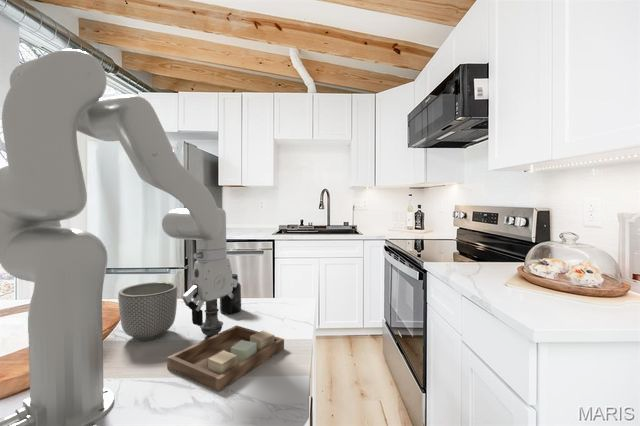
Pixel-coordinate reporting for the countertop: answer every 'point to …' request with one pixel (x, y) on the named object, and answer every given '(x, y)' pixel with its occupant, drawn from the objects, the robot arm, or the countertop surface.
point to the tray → (196, 356)
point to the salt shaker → (211, 320)
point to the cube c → (262, 339)
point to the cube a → (222, 362)
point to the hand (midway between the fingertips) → (213, 318)
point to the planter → (147, 309)
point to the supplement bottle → (234, 298)
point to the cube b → (244, 350)
